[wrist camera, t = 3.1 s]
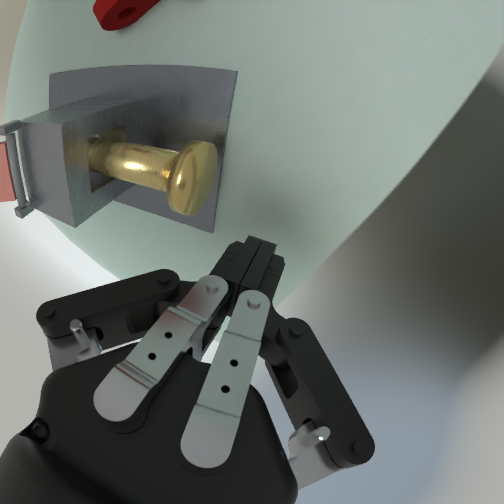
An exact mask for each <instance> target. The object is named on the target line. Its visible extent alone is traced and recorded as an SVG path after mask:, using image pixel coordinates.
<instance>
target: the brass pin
mask: <svg viewBox="0 0 504 504" xmlns="http://www.w3.org/2000/svg"><path fill="white" fill-rule="evenodd" d="M87 153H88V166H89V171H91V172H95V173H99V174H103V175H106V176H110V177H114V178H118V179H121V180H125V181H128V182H132V183H136V184H139V185H143V186H146V187H150V188H153V189H157V190H160V191H164V192H167V200H168V204H169V207H170V208H171V210H172V211H174V212H177V213H180V214H183V215H186V216H190V217H191V216H194V215H196V214H197V213H198V212H199V211H200V210H201V209H202V207H203V206H204V204H205V202H206V201H207V199H208V196H209V194H210V192H211V189H212V186H213V183H214V180H215V176H216V170H217V161H218V156H217V150H216V147H215V145H214V144H212V143H209V142H204V141H200V140H191V141H189V142H187V143H186V144H185V145H184V146H183V147H182V148H181V150H180V151H179V152H176V151H171V150H166V149H162V148H157V147H152V146H147V145H141V144H136V143H130V142H125V141H119V140H113V139H106V138H100V137H90V138H88V139H87Z"/></svg>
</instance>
